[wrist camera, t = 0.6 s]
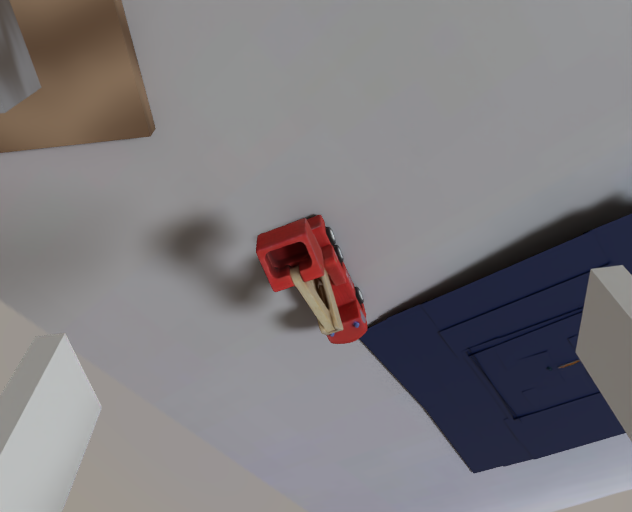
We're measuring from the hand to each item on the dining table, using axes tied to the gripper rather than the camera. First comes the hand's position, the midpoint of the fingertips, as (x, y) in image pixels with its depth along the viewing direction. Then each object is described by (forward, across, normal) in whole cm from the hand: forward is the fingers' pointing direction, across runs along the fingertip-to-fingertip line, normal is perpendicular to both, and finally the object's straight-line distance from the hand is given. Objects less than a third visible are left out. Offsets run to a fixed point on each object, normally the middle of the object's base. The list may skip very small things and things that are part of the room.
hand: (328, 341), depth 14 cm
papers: (+26, +20, -26) cm, 41 cm away
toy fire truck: (+26, -1, -13) cm, 29 cm away
